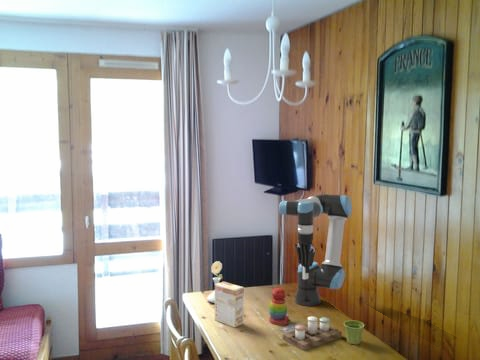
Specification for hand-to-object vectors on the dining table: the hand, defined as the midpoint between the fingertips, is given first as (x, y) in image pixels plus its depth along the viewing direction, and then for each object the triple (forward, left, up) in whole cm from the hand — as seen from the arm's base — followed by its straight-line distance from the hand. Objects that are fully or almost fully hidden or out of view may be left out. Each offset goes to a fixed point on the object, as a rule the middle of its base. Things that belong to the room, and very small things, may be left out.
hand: (305, 278), depth 224 cm
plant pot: (-7, +25, -25) cm, 37 cm away
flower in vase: (+17, -57, -25) cm, 64 cm away
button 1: (+14, +11, -25) cm, 30 cm away
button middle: (+6, +11, -22) cm, 26 cm away
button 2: (-2, +11, -25) cm, 27 cm away
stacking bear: (+6, -14, -25) cm, 29 cm away
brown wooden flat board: (+6, +11, -25) cm, 28 cm away
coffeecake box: (+28, -28, -25) cm, 47 cm away
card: (+6, -3, -25) cm, 26 cm away
